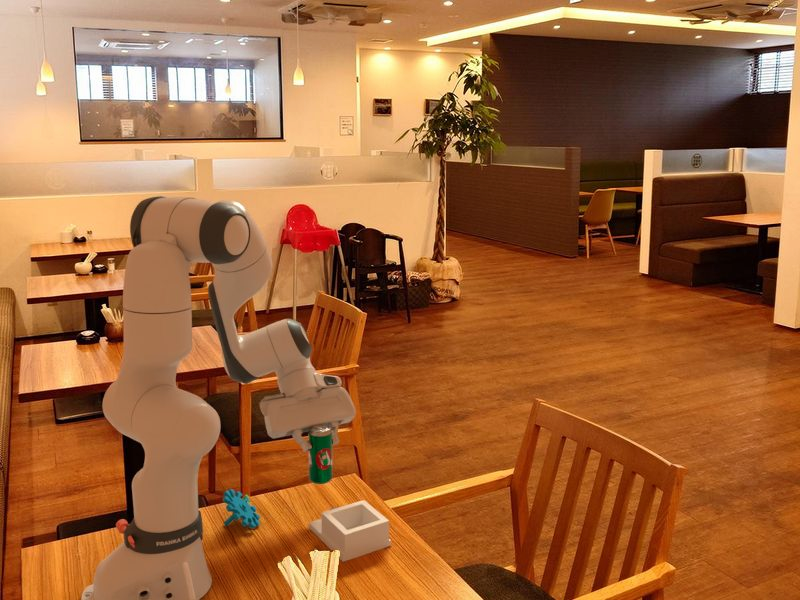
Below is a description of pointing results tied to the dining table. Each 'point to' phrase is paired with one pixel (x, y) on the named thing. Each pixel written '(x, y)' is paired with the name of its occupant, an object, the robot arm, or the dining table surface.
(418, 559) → the dining table surface
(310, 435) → the soda can
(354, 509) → the box
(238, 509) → the teal lobed piece
